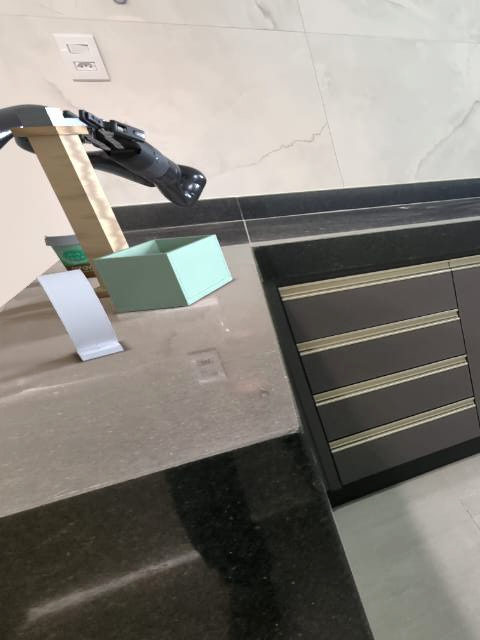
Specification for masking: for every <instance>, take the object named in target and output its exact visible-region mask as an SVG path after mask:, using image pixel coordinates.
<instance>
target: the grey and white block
mask: <svg viewBox="0 0 480 640" xmlns="http://www.w3.org/2000/svg"><path fill="white" fill-rule="evenodd" d="M14 109H15V112H16V114H17V116H18V118H19V120H20V122H21V124H22V126H23V127H41V126H89V125H88V124H86V123H85V122H83V121H82V120H80V118H64V117H63V115H62V114H63V112H62V111H61V109H60V107H53V106H48V107H34V108H14Z"/></svg>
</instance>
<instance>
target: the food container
mask: <svg viewBox="0 0 480 640" xmlns="http://www.w3.org/2000/svg"><path fill="white" fill-rule="evenodd" d="M44 243H45V246H46V247H51V249H52V250H53V251H54V253H55V255H56V256H57V258H58V259H59V260H60V262H61V264H62V265H63V267H64V268H65V270H66V271H72V270H78V269H80V270H81V271H82V272H83V274H84V275H85V277H86V278H87V279H88V278H89V279H90V278H96V276H95V273H94V271H93V269H92V267H91V265H90V263H89V261H88V259H87V257H86V255H85V253H84V251H83V249H82V247H81V245H80V243H79V241H78V239H77V237H76V235H75V234H68V235H55V236H48V235H47V234H45V235H44Z"/></svg>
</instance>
